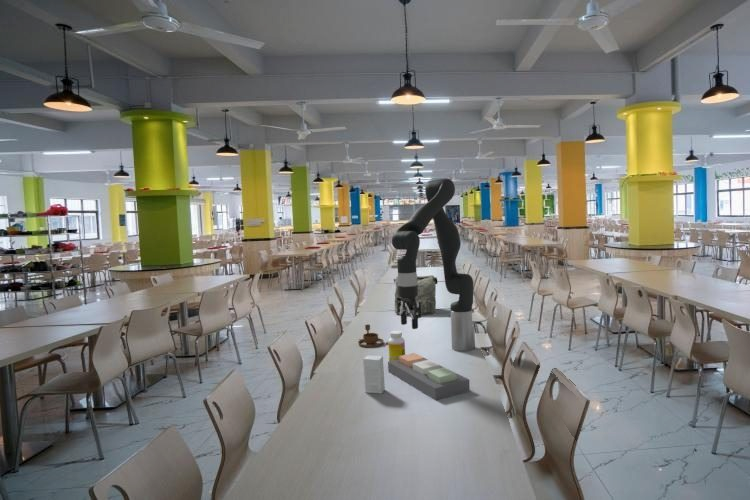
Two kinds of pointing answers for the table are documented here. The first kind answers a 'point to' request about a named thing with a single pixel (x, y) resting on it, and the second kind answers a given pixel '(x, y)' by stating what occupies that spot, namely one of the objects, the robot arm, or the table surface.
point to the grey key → (424, 367)
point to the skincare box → (374, 374)
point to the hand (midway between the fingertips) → (409, 326)
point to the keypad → (428, 381)
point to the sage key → (441, 375)
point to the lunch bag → (423, 294)
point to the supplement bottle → (396, 345)
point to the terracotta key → (410, 359)
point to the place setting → (370, 339)
